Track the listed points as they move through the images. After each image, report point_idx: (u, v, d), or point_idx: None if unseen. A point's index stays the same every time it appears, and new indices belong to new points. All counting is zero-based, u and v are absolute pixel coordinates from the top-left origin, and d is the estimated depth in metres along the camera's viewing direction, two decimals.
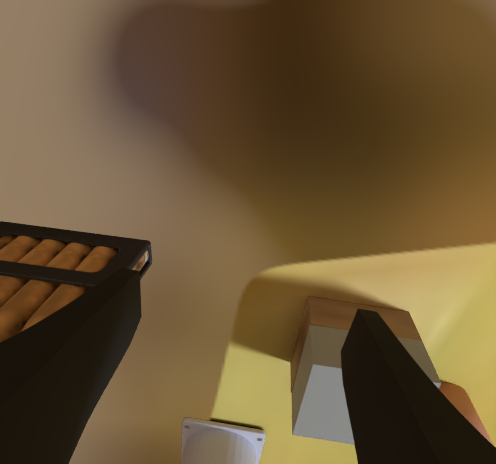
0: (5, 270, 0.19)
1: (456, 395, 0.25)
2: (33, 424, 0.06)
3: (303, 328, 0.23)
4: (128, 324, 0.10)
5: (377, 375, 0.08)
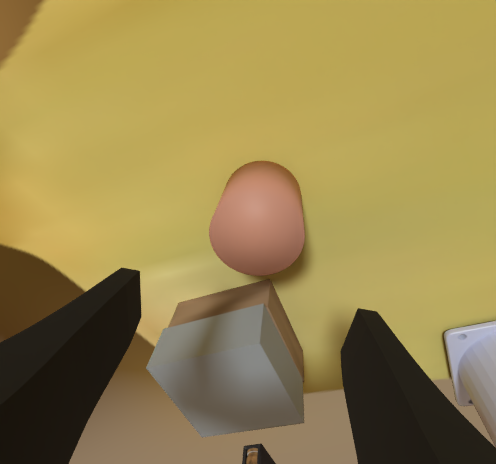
0: None
1: None
2: (33, 424, 0.06)
3: None
4: (128, 324, 0.10)
5: (377, 375, 0.08)
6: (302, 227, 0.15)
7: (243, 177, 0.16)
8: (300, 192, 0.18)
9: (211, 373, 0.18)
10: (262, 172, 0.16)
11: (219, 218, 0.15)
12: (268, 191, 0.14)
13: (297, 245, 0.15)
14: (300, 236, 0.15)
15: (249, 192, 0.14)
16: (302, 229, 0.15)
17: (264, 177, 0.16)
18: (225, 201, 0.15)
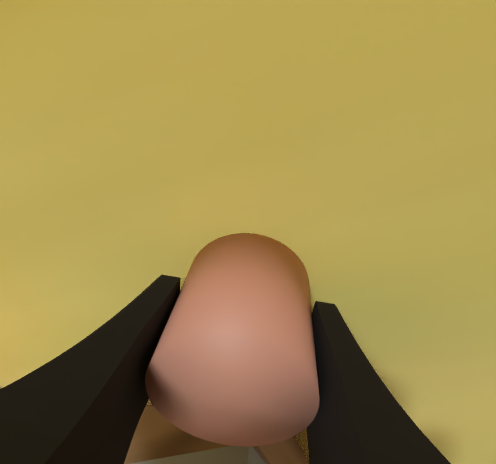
0: None
1: None
2: (100, 436, 0.06)
3: None
4: None
5: (325, 366, 0.09)
6: (315, 389, 0.08)
7: (212, 275, 0.09)
8: (308, 283, 0.11)
9: None
10: (244, 266, 0.09)
11: (160, 369, 0.08)
12: (251, 328, 0.07)
13: (306, 412, 0.08)
14: (311, 401, 0.08)
15: (212, 332, 0.07)
16: (315, 392, 0.08)
17: (246, 281, 0.09)
18: (168, 341, 0.08)
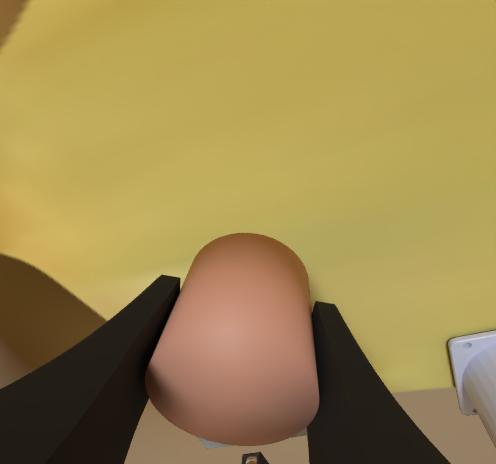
0: None
1: None
2: (100, 436, 0.06)
3: None
4: None
5: (325, 366, 0.09)
6: (315, 388, 0.08)
7: (212, 275, 0.09)
8: (308, 282, 0.11)
9: None
10: (244, 266, 0.09)
11: (160, 368, 0.08)
12: (251, 327, 0.08)
13: (306, 412, 0.08)
14: (311, 401, 0.08)
15: (212, 331, 0.07)
16: (315, 391, 0.08)
17: (246, 281, 0.09)
18: (169, 341, 0.08)
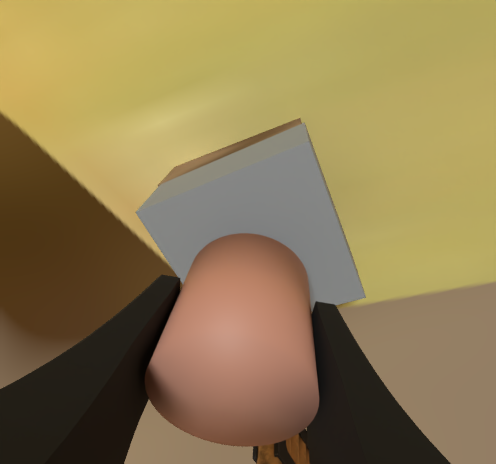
0: None
1: None
2: (99, 436, 0.06)
3: None
4: None
5: (325, 366, 0.09)
6: (315, 388, 0.08)
7: (211, 275, 0.09)
8: (308, 282, 0.11)
9: (232, 214, 0.12)
10: (244, 266, 0.09)
11: (160, 369, 0.08)
12: (251, 328, 0.07)
13: (306, 412, 0.08)
14: (311, 401, 0.08)
15: (212, 332, 0.07)
16: (315, 392, 0.08)
17: (246, 281, 0.09)
18: (168, 341, 0.08)
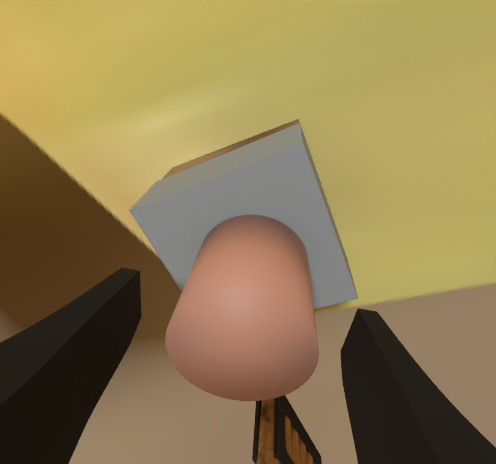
0: None
1: None
2: (33, 424, 0.06)
3: None
4: (128, 324, 0.10)
5: (377, 375, 0.08)
6: (315, 342, 0.09)
7: (222, 249, 0.11)
8: None
9: (225, 213, 0.12)
10: (251, 241, 0.11)
11: (180, 326, 0.09)
12: (260, 288, 0.09)
13: (307, 365, 0.10)
14: (311, 355, 0.09)
15: (227, 291, 0.09)
16: (315, 345, 0.09)
17: (254, 253, 0.10)
18: (188, 301, 0.09)
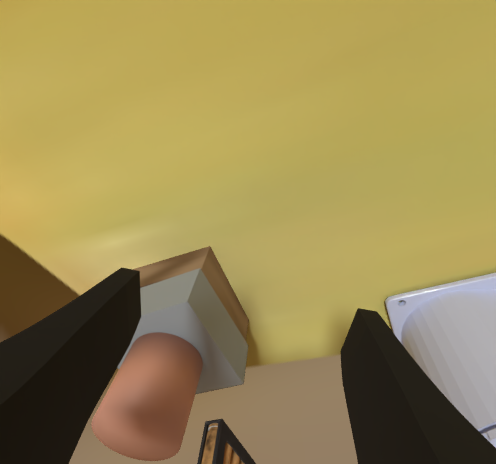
0: None
1: None
2: (33, 424, 0.06)
3: None
4: (128, 324, 0.10)
5: (377, 375, 0.08)
6: (179, 438, 0.16)
7: (140, 365, 0.17)
8: (200, 367, 0.19)
9: None
10: (159, 362, 0.17)
11: (101, 417, 0.15)
12: (151, 406, 0.15)
13: (174, 448, 0.16)
14: (176, 444, 0.16)
15: (131, 406, 0.15)
16: (179, 440, 0.16)
17: (157, 374, 0.16)
18: (108, 406, 0.15)
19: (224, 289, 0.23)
